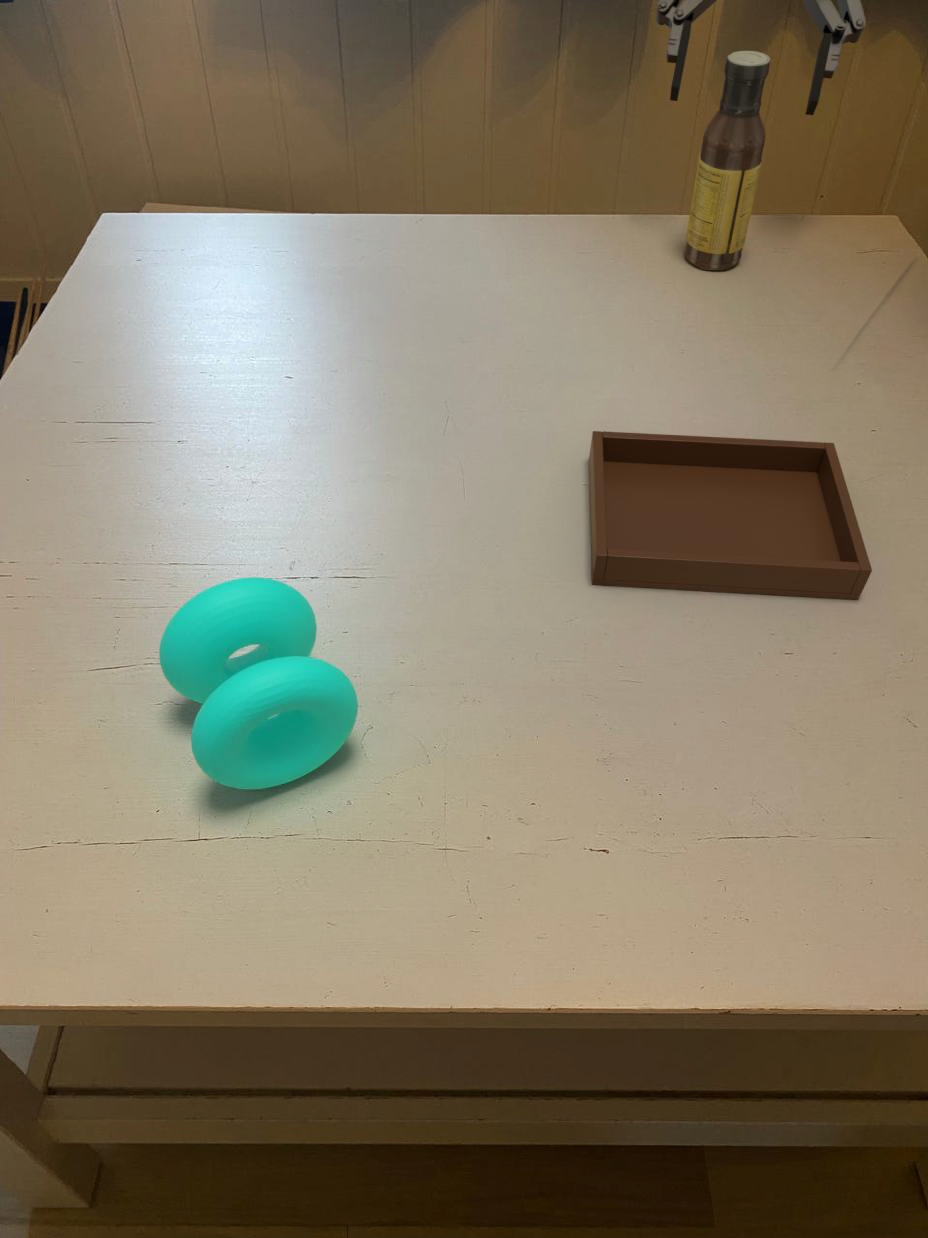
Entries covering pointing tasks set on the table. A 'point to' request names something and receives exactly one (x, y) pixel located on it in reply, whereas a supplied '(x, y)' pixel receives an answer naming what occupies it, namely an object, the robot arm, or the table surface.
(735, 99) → the sauce bottle
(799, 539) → the serving tray
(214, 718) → the donuts
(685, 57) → the robot arm
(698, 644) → the table surface
